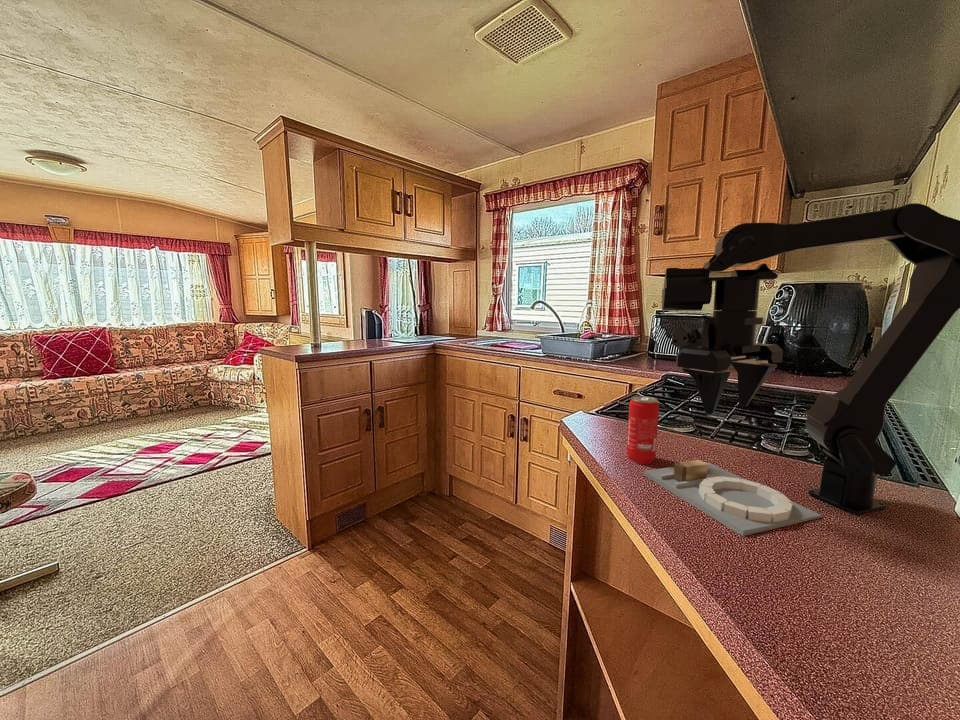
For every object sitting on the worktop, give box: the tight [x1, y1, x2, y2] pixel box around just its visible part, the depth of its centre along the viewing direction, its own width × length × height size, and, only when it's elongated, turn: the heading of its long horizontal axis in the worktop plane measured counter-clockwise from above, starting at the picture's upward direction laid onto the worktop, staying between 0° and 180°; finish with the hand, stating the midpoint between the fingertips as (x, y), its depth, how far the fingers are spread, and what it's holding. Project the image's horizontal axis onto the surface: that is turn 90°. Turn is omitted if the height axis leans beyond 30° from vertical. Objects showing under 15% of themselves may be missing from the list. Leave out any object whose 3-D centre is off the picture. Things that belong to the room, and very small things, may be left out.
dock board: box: [643, 461, 822, 537], centre depth 62 cm, size 14×19×2 cm
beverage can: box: [625, 395, 660, 465], centre depth 75 cm, size 5×5×12 cm
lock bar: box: [673, 459, 708, 482], centre depth 65 cm, size 5×2×2 cm, turn 106°
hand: (726, 409), depth 63 cm, fingers open, 9 cm apart
